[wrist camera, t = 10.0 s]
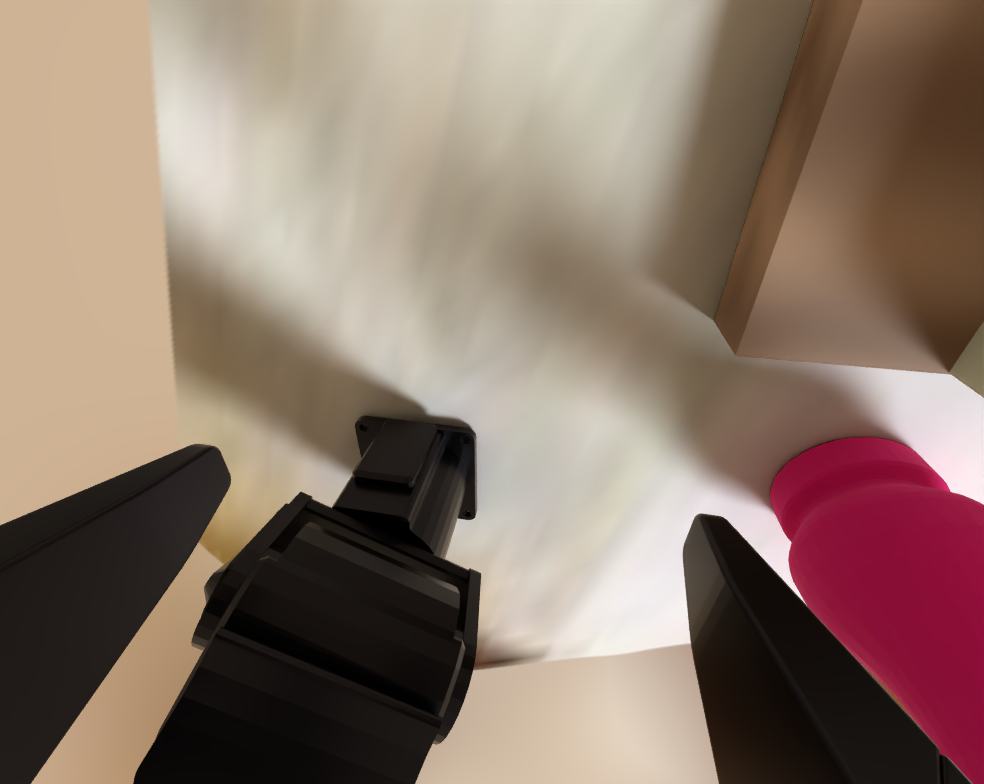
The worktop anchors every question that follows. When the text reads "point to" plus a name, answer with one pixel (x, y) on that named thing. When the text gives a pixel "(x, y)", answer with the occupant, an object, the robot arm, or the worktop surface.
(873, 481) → the pepper mill
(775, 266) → the brown open rectangular box
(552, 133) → the worktop surface
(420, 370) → the worktop surface
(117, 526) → the robot arm
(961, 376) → the light grey piece
